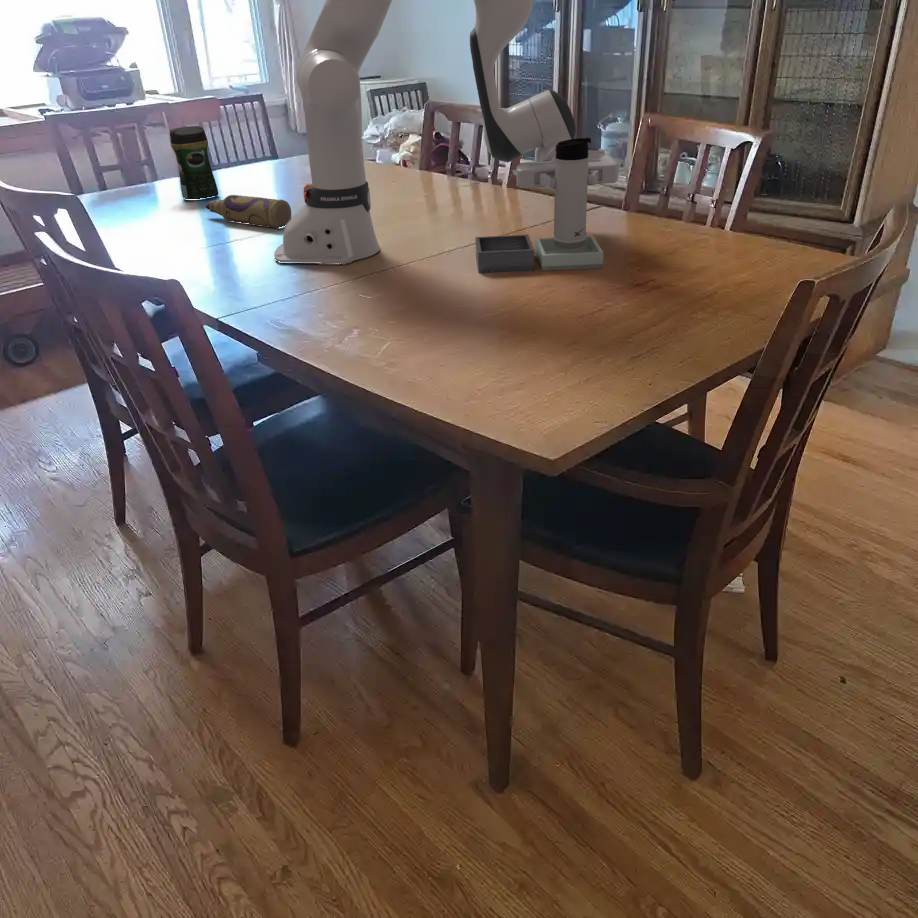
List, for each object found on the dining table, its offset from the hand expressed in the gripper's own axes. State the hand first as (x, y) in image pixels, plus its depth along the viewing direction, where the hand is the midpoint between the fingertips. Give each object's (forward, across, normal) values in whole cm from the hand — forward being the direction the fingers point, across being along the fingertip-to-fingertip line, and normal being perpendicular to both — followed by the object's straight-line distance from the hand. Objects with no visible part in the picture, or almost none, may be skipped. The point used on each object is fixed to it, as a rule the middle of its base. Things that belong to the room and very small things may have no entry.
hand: (572, 182), depth 152 cm
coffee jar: (-72, -92, +15) cm, 118 cm away
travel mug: (-1, 0, +12) cm, 13 cm away
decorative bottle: (-43, -73, +16) cm, 86 cm away
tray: (-1, 0, +15) cm, 15 cm away
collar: (-1, -13, +15) cm, 20 cm away
